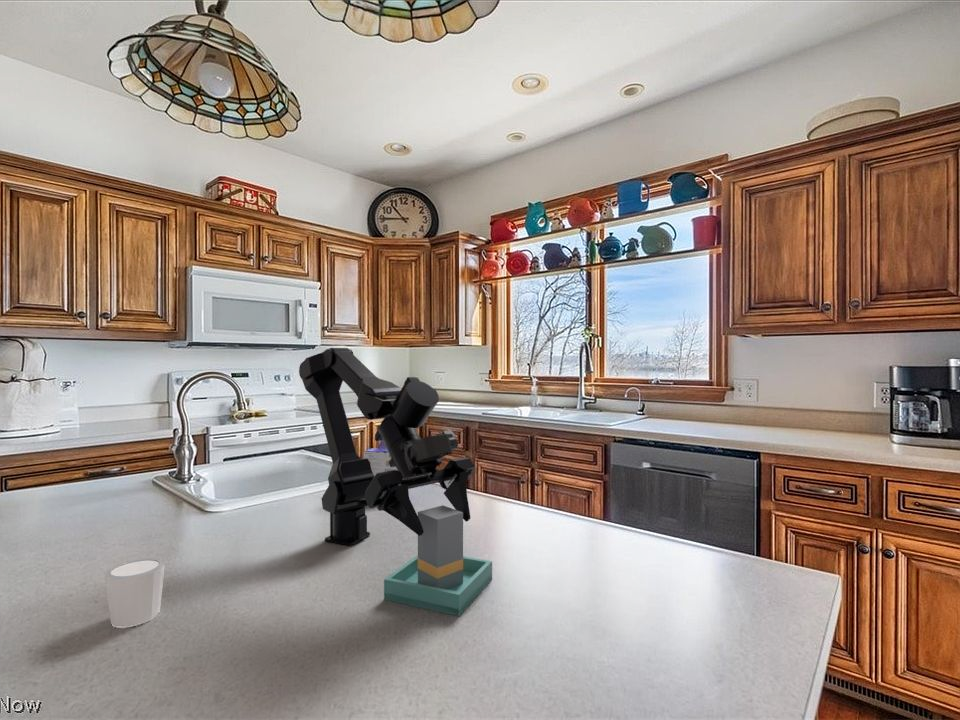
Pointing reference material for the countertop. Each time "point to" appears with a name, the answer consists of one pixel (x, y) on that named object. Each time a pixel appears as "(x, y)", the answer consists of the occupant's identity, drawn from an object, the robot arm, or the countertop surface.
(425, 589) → the tray
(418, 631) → the countertop surface
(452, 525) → the gray rectangular block
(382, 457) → the ink cartridge box
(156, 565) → the white cup
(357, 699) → the countertop surface
